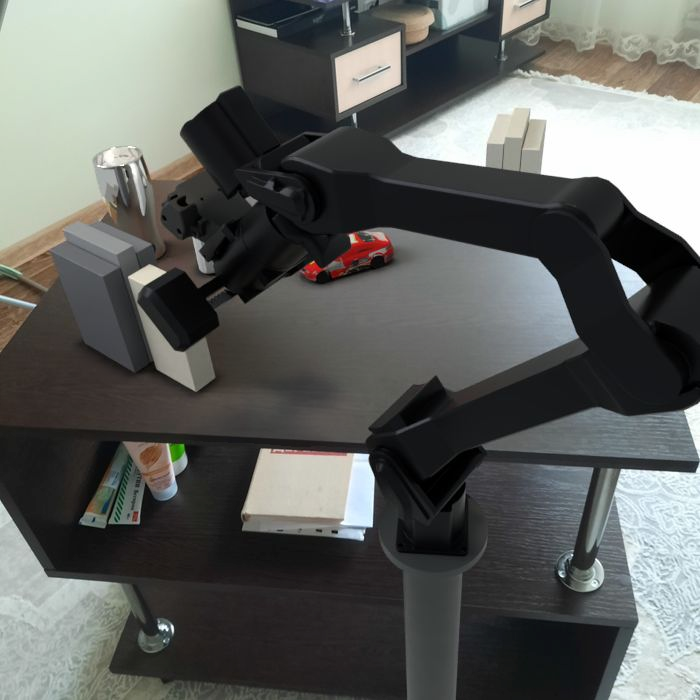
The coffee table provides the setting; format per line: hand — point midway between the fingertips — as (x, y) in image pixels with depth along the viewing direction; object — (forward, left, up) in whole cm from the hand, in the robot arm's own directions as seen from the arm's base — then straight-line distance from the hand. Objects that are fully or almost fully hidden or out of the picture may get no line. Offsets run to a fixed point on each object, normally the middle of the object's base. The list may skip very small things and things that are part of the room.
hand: (207, 302), depth 72 cm
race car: (+27, -10, -13) cm, 31 cm away
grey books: (+9, +15, -13) cm, 22 cm away
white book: (+4, +6, -13) cm, 15 cm away
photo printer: (+28, +6, -13) cm, 31 cm away
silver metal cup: (+30, +20, -13) cm, 38 cm away
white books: (+40, -32, -13) cm, 53 cm away
